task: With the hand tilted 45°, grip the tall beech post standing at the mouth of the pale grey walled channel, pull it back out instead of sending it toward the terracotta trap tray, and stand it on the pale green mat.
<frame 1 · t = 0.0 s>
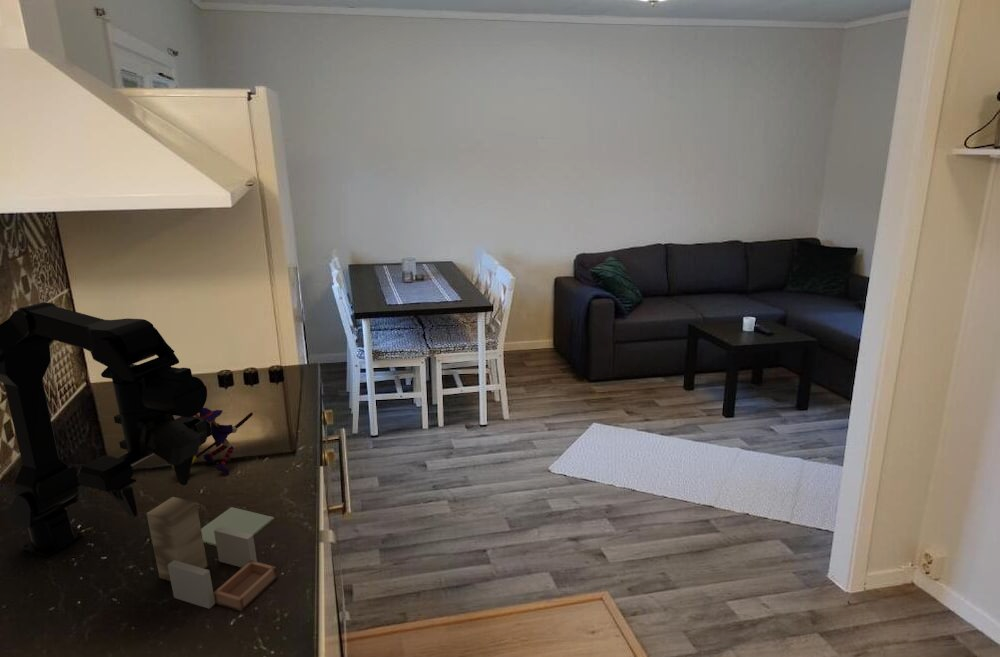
hand: (159, 499, 96), 15 cm above the counter, tool pointing down, fingers open, 9 cm apart
green mat: (233, 528, 113), on the counter
trap tray: (247, 590, 98), on the counter
toy: (218, 470, 134), on the counter
beech post: (183, 571, 102), on the counter
channel: (217, 581, 100), on the counter
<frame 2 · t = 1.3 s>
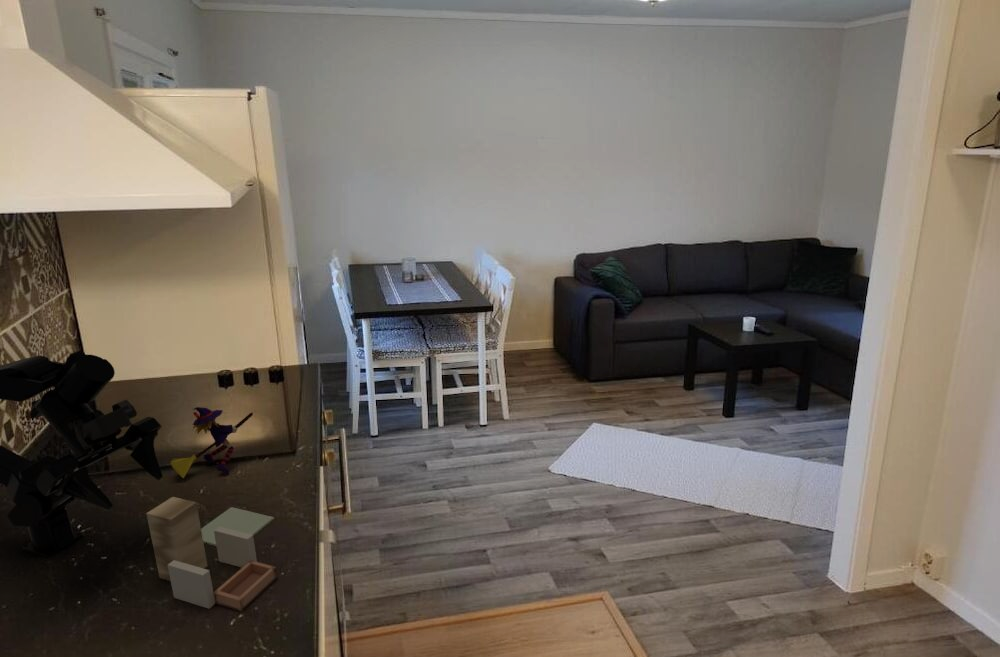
hand: (136, 492, 101), 13 cm above the counter, tool tilted 45°, fingers open, 9 cm apart
nothing on the counter moved.
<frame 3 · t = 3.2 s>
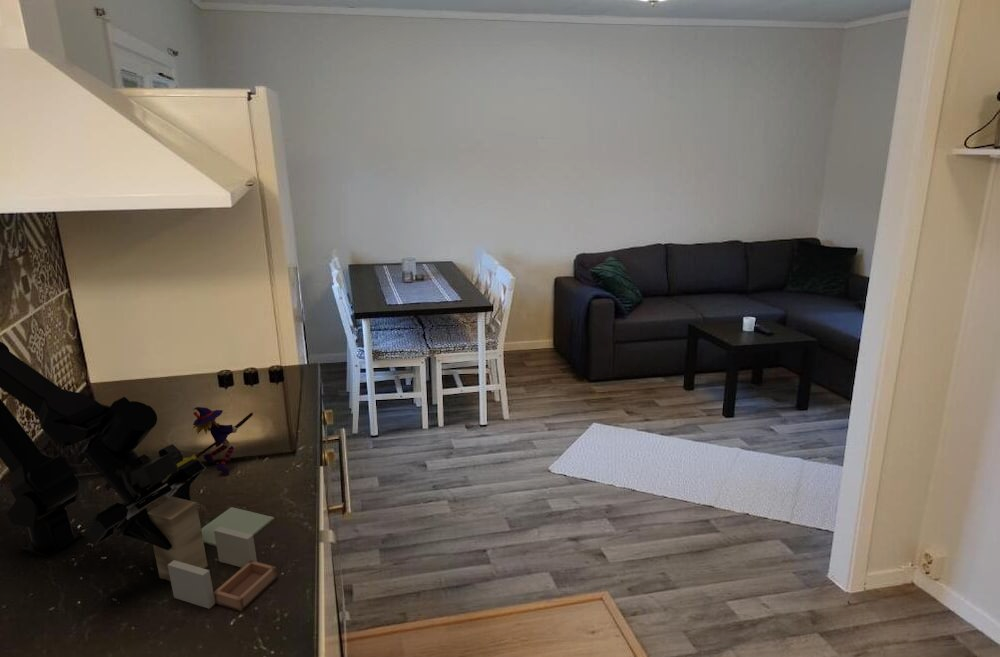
hand: (184, 538, 100), 7 cm above the counter, tool tilted 45°, fingers closed on beech post, 5 cm apart
beech post: (184, 571, 102), on the counter, touching gripper
everything else where it was.
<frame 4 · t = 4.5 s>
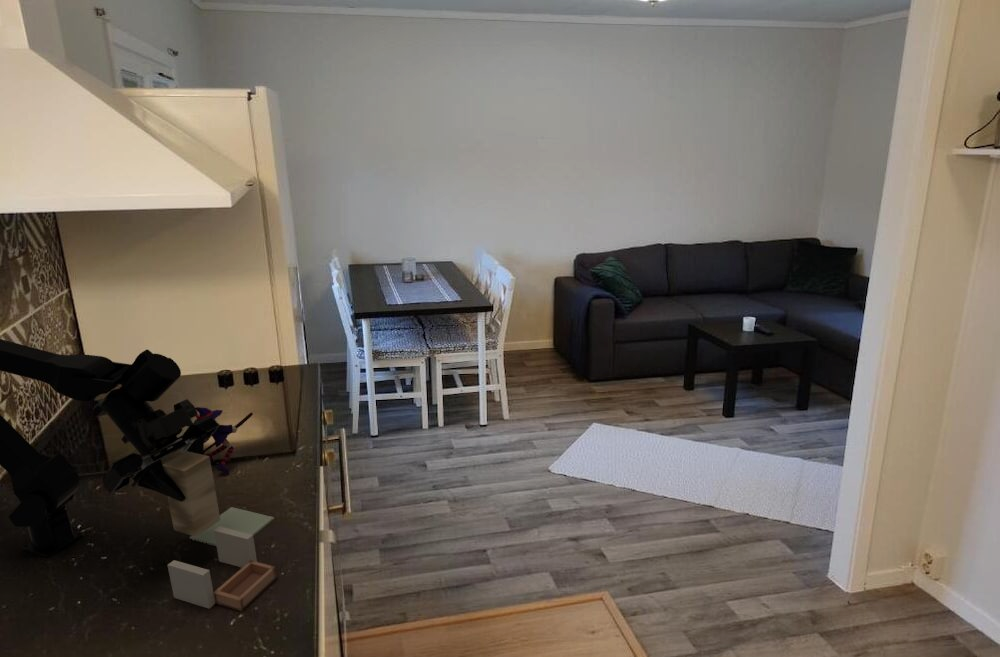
hand: (197, 491, 102), 13 cm above the counter, tool tilted 45°, fingers closed on beech post, 5 cm apart
beech post: (197, 524, 104), point 6 cm above the counter, touching gripper
everything else where it was.
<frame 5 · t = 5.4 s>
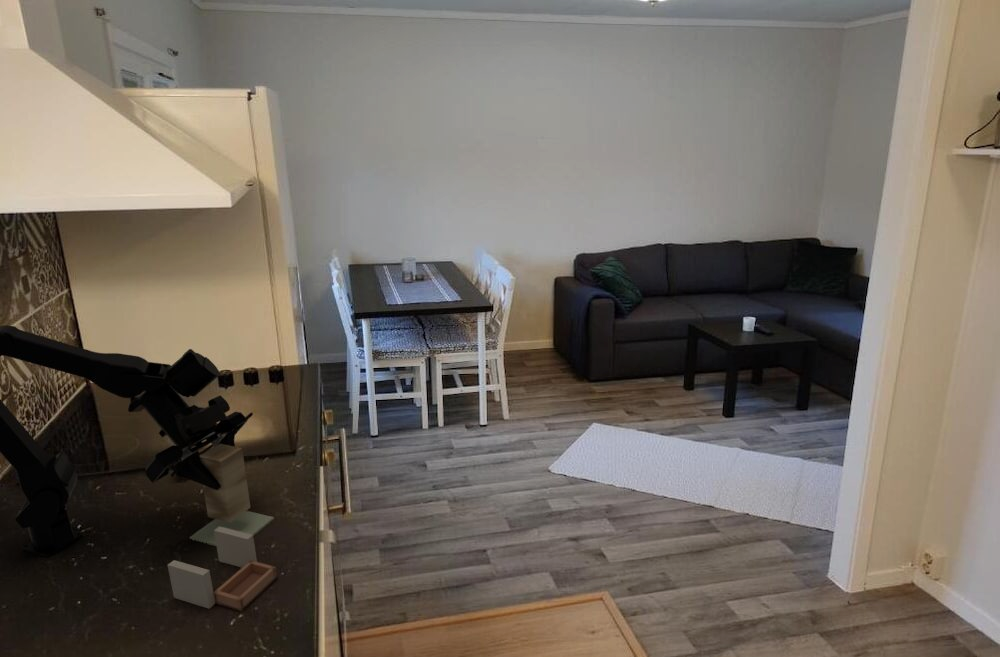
hand: (230, 480, 110), 10 cm above the counter, tool tilted 45°, fingers closed on beech post, 5 cm apart
beech post: (229, 512, 112), point 4 cm above the counter, touching gripper
everything else where it was.
when the fingers open (8 cm above the counter, at t = 6.1 s): beech post stays where it is, resting on green mat.
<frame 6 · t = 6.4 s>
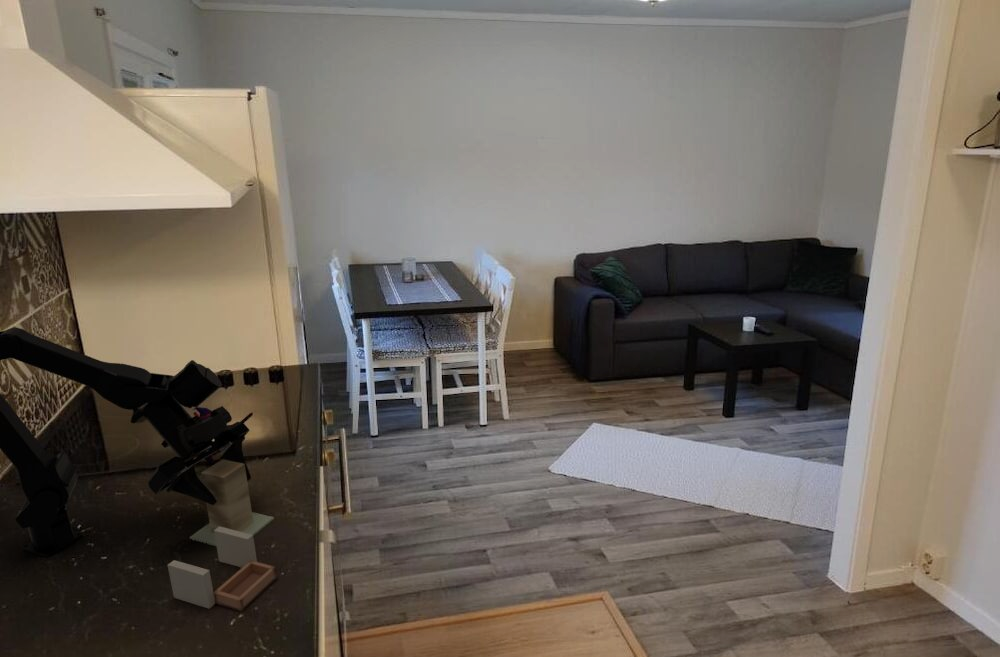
hand: (232, 491, 110), 8 cm above the counter, tool tilted 45°, fingers open, 8 cm apart
beech post: (232, 527, 113), resting on green mat
everything else where it was.
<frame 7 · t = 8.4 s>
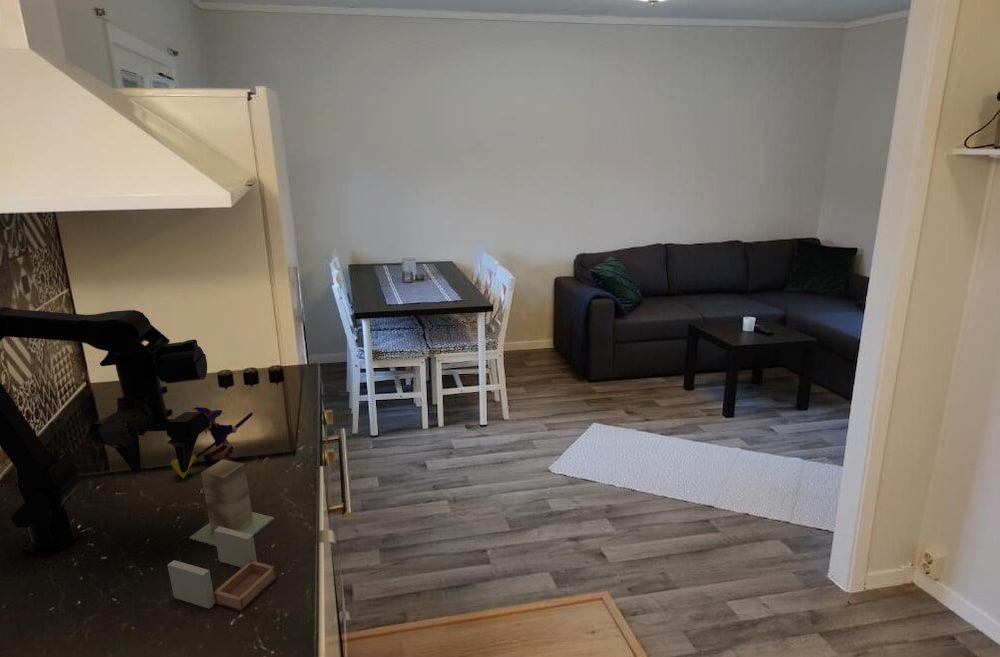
hand: (160, 472, 108), 13 cm above the counter, tool pointing down, fingers open, 9 cm apart
nothing on the counter moved.
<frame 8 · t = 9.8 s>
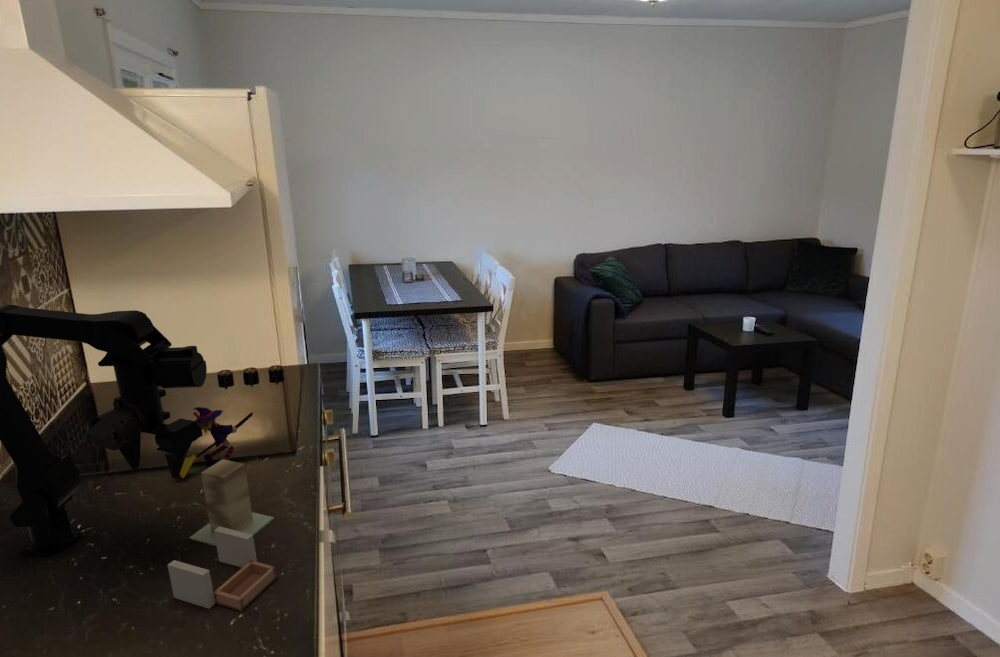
hand: (155, 472, 107), 13 cm above the counter, tool pointing down, fingers open, 9 cm apart
nothing on the counter moved.
at the end: beech post inside the target area on the green mat (0.1 cm from its centre), point 0.4 cm above the green mat's base; beech post tilted 0°; the gripper is holding nothing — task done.
